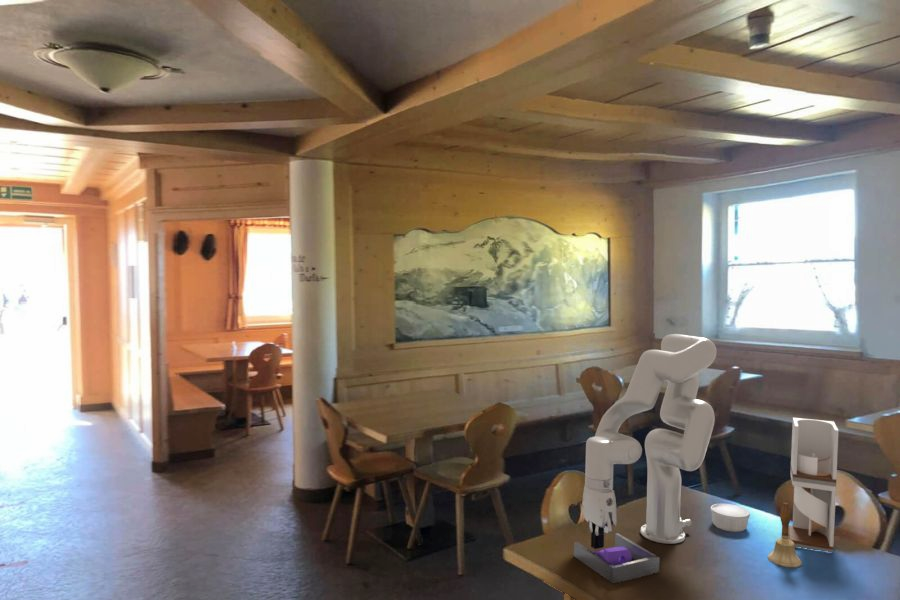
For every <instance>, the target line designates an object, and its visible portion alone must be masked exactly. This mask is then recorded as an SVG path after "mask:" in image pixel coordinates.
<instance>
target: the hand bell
mask: <svg viewBox="0 0 900 600" xmlns="http://www.w3.org/2000/svg"><path fill="white" fill-rule="evenodd" d="M791 516H792V511H791V509H790V505H789V503H788V502H787V501H786V502H783V503H782V506H781V507H780V512H779V518H780V522H781V537H779V538H776V540H775V544H774V548H773V550H772V551H771V552H770V553H768V555H767V559H768V561H770V562H771V563H772V564H774V565H777V566H781V567H786V568H799V567H801V566H802V565H803V562H802V560H801V559H800V558H799V556H798V555H797V552H796V548H795V547H794V542H793V541H791V540H789V534H788V533H789V532H788V526H789V525H790V522H791V519H792V517H791Z"/></svg>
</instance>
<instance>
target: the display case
mask: <svg viewBox="0 0 900 600" xmlns="http://www.w3.org/2000/svg"><path fill="white" fill-rule="evenodd" d="M791 423H792V424H791V425H792V428H791V429H792V430H791V451H790V479H791V484H792V486H793V487H794V488H793V507H792V508H793V509H792V525H790V524H789V526H788V532H789V533H788V534H789V540H791V541H793V542H794V547H801V548H807V549H813V550H821V551H828V552H833V553H834V541H835V540H834V538H835V536H834V535H835V519H836V518H835V517H836V515H835V514H836V496H837V495H836V493H837V476H838V475H837V474H838V472H837V471H838V452H839V451H838V449H839V432H840V431H839V428H838V426H837V425H836V423H835V421H834V420H822V419H812V418H811V419H810V418H803V417H802V418H800V417H792V422H791ZM801 548H800V549H801Z"/></svg>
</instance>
